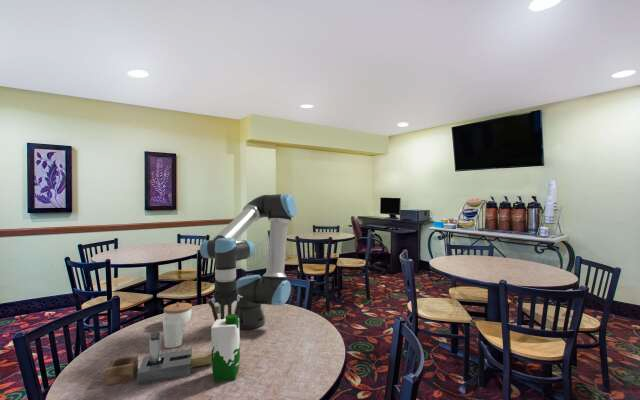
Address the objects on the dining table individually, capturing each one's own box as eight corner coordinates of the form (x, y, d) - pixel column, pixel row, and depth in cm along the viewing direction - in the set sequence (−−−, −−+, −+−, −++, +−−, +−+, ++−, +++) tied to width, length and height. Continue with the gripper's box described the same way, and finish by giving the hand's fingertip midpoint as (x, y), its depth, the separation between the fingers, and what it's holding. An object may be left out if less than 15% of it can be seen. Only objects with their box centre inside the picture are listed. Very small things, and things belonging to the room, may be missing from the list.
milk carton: (237, 381, 104) (236, 320, 104) (209, 383, 103) (208, 321, 103) (241, 367, 113) (240, 311, 113) (215, 369, 112) (214, 312, 112)
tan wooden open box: (138, 368, 114) (137, 354, 114) (133, 380, 106) (132, 365, 106) (112, 373, 111) (112, 358, 111) (105, 385, 103) (105, 369, 104)
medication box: (222, 314, 170) (223, 306, 170) (217, 313, 170) (218, 306, 170) (225, 306, 182) (225, 299, 182) (220, 306, 182) (220, 299, 182)
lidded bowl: (197, 323, 157) (197, 301, 157) (174, 332, 146) (173, 308, 146) (182, 319, 163) (181, 297, 164) (158, 327, 153) (158, 304, 153)
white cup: (175, 349, 128) (175, 324, 129) (158, 348, 130) (158, 323, 130) (187, 341, 136) (187, 317, 136) (171, 340, 138) (170, 317, 138)
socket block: (192, 359, 120) (191, 348, 120) (190, 375, 108) (190, 363, 108) (144, 367, 114) (144, 356, 114) (137, 385, 103) (137, 372, 103)
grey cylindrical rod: (162, 369, 112) (161, 330, 113) (160, 375, 109) (160, 334, 109) (150, 371, 111) (150, 331, 111) (149, 377, 108) (148, 335, 108)
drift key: (211, 361, 118) (211, 351, 118) (211, 364, 115) (211, 354, 115) (188, 365, 115) (188, 355, 115) (188, 368, 113) (187, 358, 113)
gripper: (242, 276, 124) (243, 337, 124) (207, 279, 120) (207, 342, 119) (244, 280, 117) (245, 344, 117) (207, 283, 113) (207, 350, 112)
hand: (226, 343), depth 118 cm, fingers closed
